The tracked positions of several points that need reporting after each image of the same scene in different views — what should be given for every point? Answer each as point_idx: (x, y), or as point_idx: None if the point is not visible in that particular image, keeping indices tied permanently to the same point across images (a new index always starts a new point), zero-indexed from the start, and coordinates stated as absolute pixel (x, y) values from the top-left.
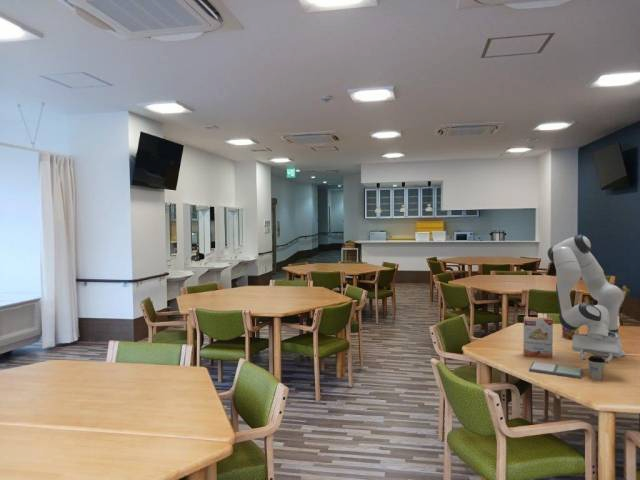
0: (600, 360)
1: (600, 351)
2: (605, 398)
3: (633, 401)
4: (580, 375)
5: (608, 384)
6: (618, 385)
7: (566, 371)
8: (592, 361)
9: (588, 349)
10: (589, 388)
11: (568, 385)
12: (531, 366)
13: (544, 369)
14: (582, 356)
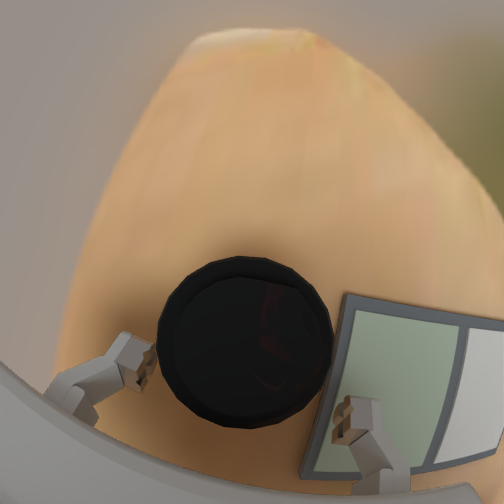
0: (212, 283)
1: (163, 462)
2: (267, 61)
3: (177, 64)
4: (347, 321)
5: (202, 232)
6: (152, 232)
7: (414, 362)
8: (299, 276)
9: (325, 495)
10: (315, 140)
11: (399, 161)
12: None
13: (493, 344)
14: (376, 410)
